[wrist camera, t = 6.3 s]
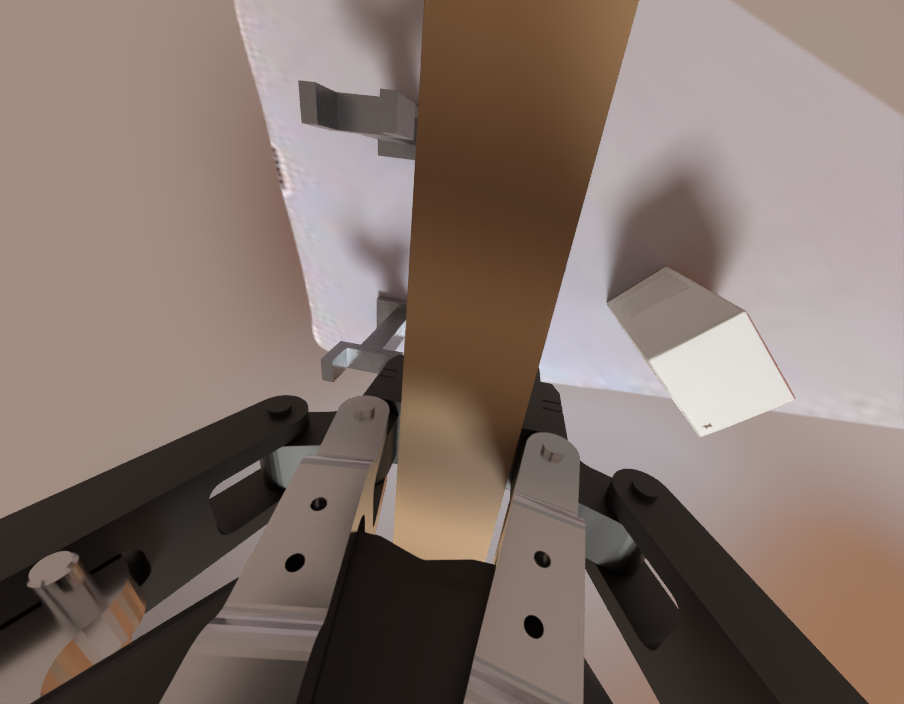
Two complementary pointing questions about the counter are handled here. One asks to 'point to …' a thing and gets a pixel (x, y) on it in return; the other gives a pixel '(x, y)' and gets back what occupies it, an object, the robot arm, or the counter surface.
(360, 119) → the grey support rack
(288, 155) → the counter surface
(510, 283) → the tan wooden bar
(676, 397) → the small box
